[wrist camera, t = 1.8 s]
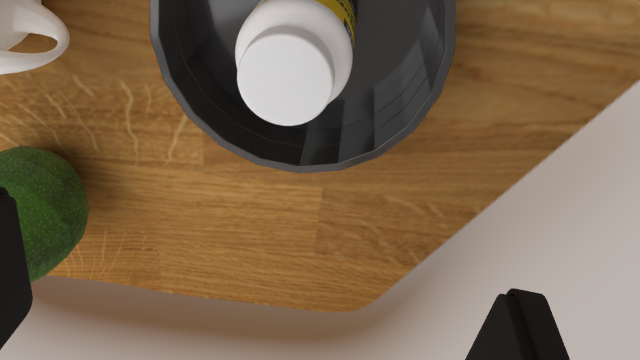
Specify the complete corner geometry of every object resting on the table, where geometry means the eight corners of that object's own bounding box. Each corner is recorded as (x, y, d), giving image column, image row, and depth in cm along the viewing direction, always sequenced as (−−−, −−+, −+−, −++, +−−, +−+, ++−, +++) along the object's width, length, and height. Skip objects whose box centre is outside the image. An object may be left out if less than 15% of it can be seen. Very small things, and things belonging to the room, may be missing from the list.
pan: (177, 106, 34) (149, 143, 29) (186, -168, 25) (149, -171, 21) (402, 152, 34) (406, 195, 30) (483, -103, 26) (504, -93, 22)
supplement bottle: (374, 35, 29) (374, 107, 21) (295, 80, 31) (267, 162, 23) (324, -53, 27) (303, -11, 19) (243, 1, 29) (191, 61, 21)
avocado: (5, 201, 39) (-123, 323, 29) (0, 112, 35) (-152, 218, 25) (109, 231, 40) (19, 359, 30) (116, 146, 36) (14, 263, 26)
